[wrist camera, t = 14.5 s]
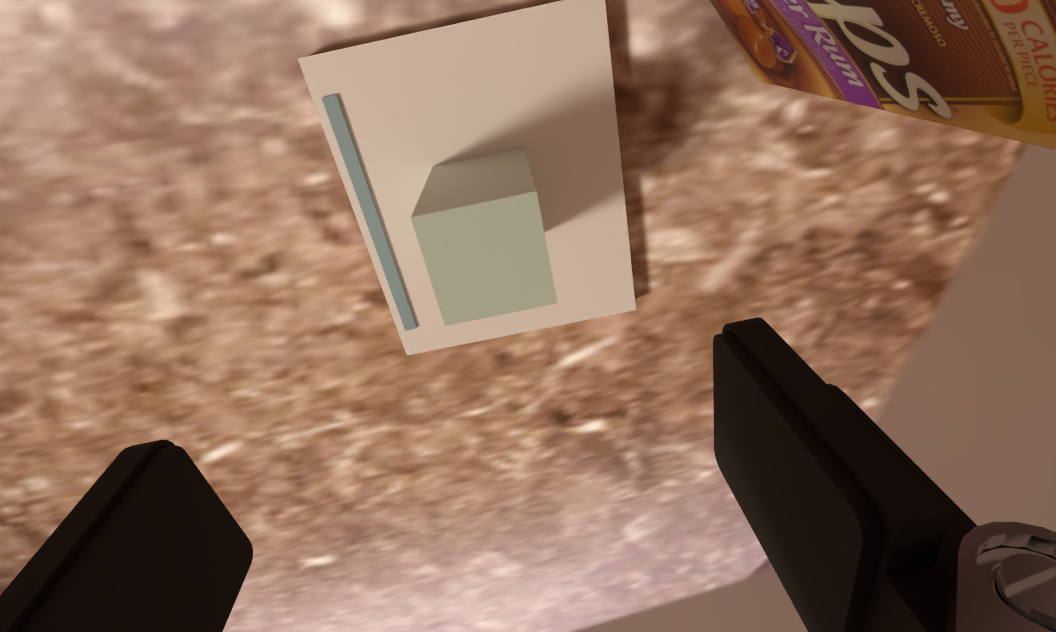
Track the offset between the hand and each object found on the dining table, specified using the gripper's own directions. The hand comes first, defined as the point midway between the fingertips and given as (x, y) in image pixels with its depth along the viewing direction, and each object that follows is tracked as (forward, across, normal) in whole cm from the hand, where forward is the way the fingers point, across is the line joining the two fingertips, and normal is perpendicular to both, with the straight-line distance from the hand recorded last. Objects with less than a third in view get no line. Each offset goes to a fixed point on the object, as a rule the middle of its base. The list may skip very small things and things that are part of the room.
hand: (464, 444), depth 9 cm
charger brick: (+16, -1, 0) cm, 16 cm away
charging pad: (+17, -1, 0) cm, 17 cm away
